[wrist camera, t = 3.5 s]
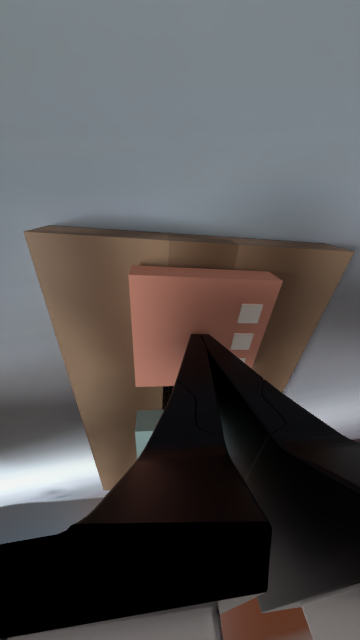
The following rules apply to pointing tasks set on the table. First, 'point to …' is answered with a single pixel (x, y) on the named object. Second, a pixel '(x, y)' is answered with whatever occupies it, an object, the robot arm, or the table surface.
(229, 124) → the table surface
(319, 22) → the table surface
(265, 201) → the table surface
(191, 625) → the robot arm
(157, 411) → the tile teal
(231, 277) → the tile brick
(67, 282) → the button board
